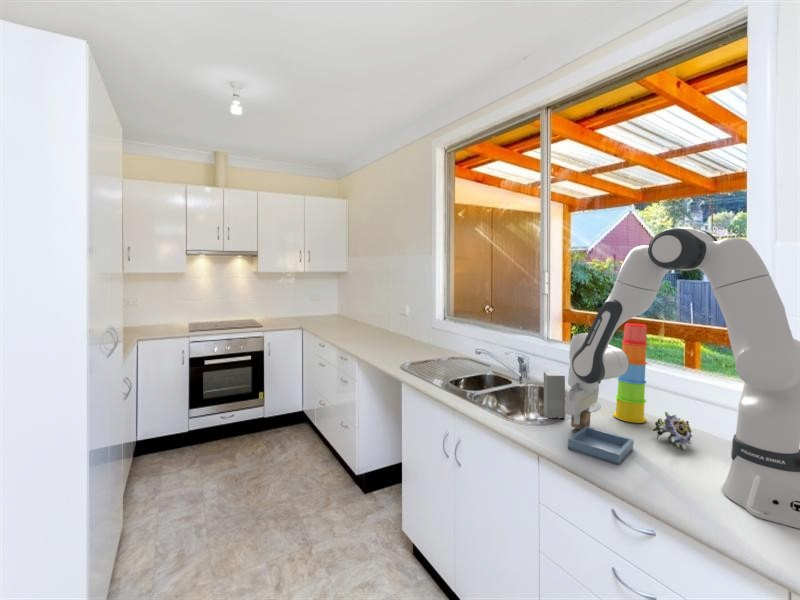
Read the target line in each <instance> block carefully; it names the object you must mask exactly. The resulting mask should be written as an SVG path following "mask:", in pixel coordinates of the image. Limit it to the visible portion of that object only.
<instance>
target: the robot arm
mask: <svg viewBox="0 0 800 600" xmlns="http://www.w3.org/2000/svg"><path fill="white" fill-rule="evenodd" d="M693 270H699V271H701V272H703V273H704V274H705V276H706V277H707V279H708V282H709V284H710V287H711V289H712V292H713V294H714V297H715V299H716V301H717V304H718V307H719V309H720V311H721V314H722V316H723V319H724V321H725V324H726V325H725V326H726V330H727V335H728V338H729V339H728V340H729V344H730V347H731V350H732V354H733V358H734V363H735V370H736V373H737V375H738V377H739V379H741V380H742V381H743V382H744V384H743V389H742V392H741V396H740V399H739V403H738V407H737V408H738V409H737V415H736V416H737V417H736V426H735V427H736V428H735V434H734V435H733V437H732V441H731V448H730V449H731V450H730V455H731V456H730V457H731V464H730V467H729V470H728V474H727V477H726V479H725V481H724V483H723V484H722V486H721V491H722V493H723V494H724V495H725V496H726V497H727V498H728V499H729V500H731V501H732V502H733V503H736V504H737V505H739V506H741V507H743V508H744V509H745V510H746V511H747V512H748V513H749V514H751V515H752V516H753V517H757V518H758V519H762V520H766V521H769V522H773V523H778V524H781V525H784V526H788V527H793V528H795V529H799V530H800V341H799V340H797V339H795V338H794V336H793V333H792V330H791V327H790V324H789V321H788V316H787V314H786V309H785V306H784V303H783V301H782V299H781V297H780V294H779V292H778V290H777V288H776V285H775V283H774V281H773V279H772V276H771V274H770V272H769V270H768V268H767V266H766V264H765V262H764V260H763V259H762V258H761V256H760V255H759V252H757V250H756V249H755V248H754V246H753V245H752V244H751V242H750V241H748V240H747V239H744V238H740V237H730V238H724V239H720V240H718V239H717V238H716V236H714V235H713V234H712V233H710V232H708V231H705V230H702V229H701V230H700V229H695V228H691V227H671V228H668V229H667V228H666V229H664V230H661V231H660V232H657V234H655V235H654V236H653V237H652V239H651V240H650V241H649V244H648V245H638V246H636V247H634V248H632V249H631V250H630V251H629V253H628V254H627V256H626V257H625V260H624V261H623V263H622V264H621V267H620V270H619V272H618V274H617V277H616V280H615V282H614V284H613V287H612V289H611V292H610V293H609V295H608V297H607V299H605V301H604V303H603V304H601V305H602V306H601V307H600V308H599V310H598V312H597V314H596V316H595V318H594V320H593V321H592V324H591V327H590V328H589V331H588V332H585V333H576V334H574V335H573V336H572V337H571V341H570V345H569V355H568V356H569V357H568V358H569V363H570V364H569V368H568V378H567V379H568V380H567V381H568V383H567V384H568V386H569V387H570V388H569V389H568V390H567V392H565V415H568V416H571V415H573V417H574V423H575V424H577V425H579V424H580V423H581V418H580V414H581V412H582V411H584V410H585V411H589V412H590V409H591V406H593V405H595V404H596V403H597V402H598V398H599V392H600V384H601V382H602V381H605V380H611V379H615V378H618V377H619V376H622V375H624V374H625V373H626V372H627V371H628V368H629V359H628V357H627V355H626V353H625V352H624V351H623V350H622V348H620V347H616V346H614V345H611V344H610V343H611V341H612V339H613V337H614V334H615V333H616V331H617V330H618V329H619V327H620V326H621V325H623V324H624V323H627V321H628V320H631V319H632V318H634V317H635V318H636V316H639V315H641V314H644V313H645V312H646V311H648V310H649V309H650V307H651V306H652V305H653V303H654V301H655V299H656V298H657V295H658V292H659V291H660V287H661V284H662V281H663V279H664V278H665V275H666V274H667V273H669V272H671V271H685V272H687V271H693Z"/></svg>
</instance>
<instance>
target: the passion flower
mask: <svg viewBox="0 0 800 600" xmlns="http://www.w3.org/2000/svg"><path fill="white" fill-rule="evenodd" d="M664 415H665V419H664V420H663V419H662V418H658V419H657V421H655V422H654V424H655V427H654V428H653V429H652V430H651V431H652V432H655V431H657V434H656V439H657V440H658V439H659V437H660V436H662V435H663V434H664V433H669V434H670V435H669V436H668V438H667V441H668V442H669V443H673V446H674V447H675V448H676V449H681V450H682V449H683V451H686V450H687V445H688V444H689V445H692V444H693V442H692V440H691V438H693V434H692V433H693V430H692V428H691V427H690V424H689V423H690V422H689V420H686V421H685V420H684V419H681V418H679V417H677V414H672V415H670V414H669V412H667V411H664Z"/></svg>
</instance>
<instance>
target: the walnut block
mask: <svg viewBox="0 0 800 600" xmlns="http://www.w3.org/2000/svg"><path fill="white" fill-rule="evenodd" d="M591 413H592V412H591V411H590V410H589V411H585V410H584V411H582V412H581V414H580V418H581V423H580V424H579V425H577V424H575V423H574V417H573V415H570V416H571V417H570V419H571V420H570V427H571V428H577V429H579V430H581V429H582V428H584V427H585V426H587V427H591Z"/></svg>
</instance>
